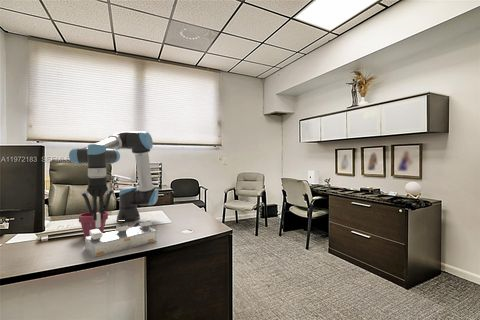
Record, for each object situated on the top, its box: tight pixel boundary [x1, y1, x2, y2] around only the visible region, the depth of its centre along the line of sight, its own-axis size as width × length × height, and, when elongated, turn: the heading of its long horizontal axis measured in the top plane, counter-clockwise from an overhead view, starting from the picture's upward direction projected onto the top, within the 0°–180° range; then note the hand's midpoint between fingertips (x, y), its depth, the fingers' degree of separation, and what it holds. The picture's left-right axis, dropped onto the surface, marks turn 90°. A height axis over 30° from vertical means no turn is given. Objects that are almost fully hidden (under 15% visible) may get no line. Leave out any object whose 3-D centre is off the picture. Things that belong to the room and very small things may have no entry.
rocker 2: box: [115, 224, 130, 232], centre depth 121 cm, size 8×4×2 cm, turn 44°
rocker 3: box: [139, 220, 153, 227], centre depth 130 cm, size 8×4×2 cm, turn 44°
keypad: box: [129, 221, 152, 228], centre depth 147 cm, size 10×4×15 cm
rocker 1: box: [89, 229, 102, 239], centre depth 113 cm, size 8×4×2 cm, turn 44°
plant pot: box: [78, 210, 109, 238], centre depth 136 cm, size 14×14×13 cm
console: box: [84, 225, 157, 258], centre depth 121 cm, size 14×30×7 cm, turn 134°
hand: (98, 226), depth 111 cm, fingers closed
